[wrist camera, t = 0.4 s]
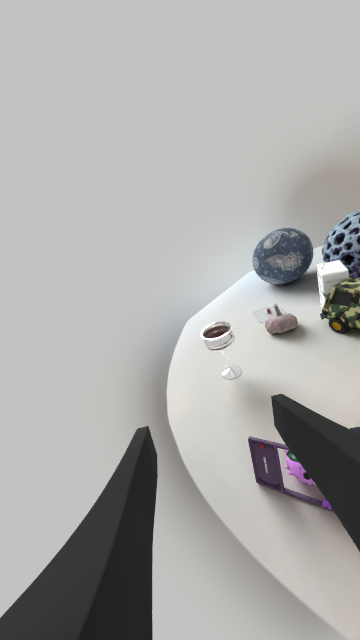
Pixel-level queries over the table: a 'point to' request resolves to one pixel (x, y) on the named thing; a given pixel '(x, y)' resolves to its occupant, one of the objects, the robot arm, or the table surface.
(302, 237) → the decorative ball
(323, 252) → the decorative object
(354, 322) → the toy car
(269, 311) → the white tile
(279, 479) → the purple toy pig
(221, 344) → the wineglass
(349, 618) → the table surface
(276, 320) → the garlic bulb
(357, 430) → the mat
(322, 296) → the ink box
